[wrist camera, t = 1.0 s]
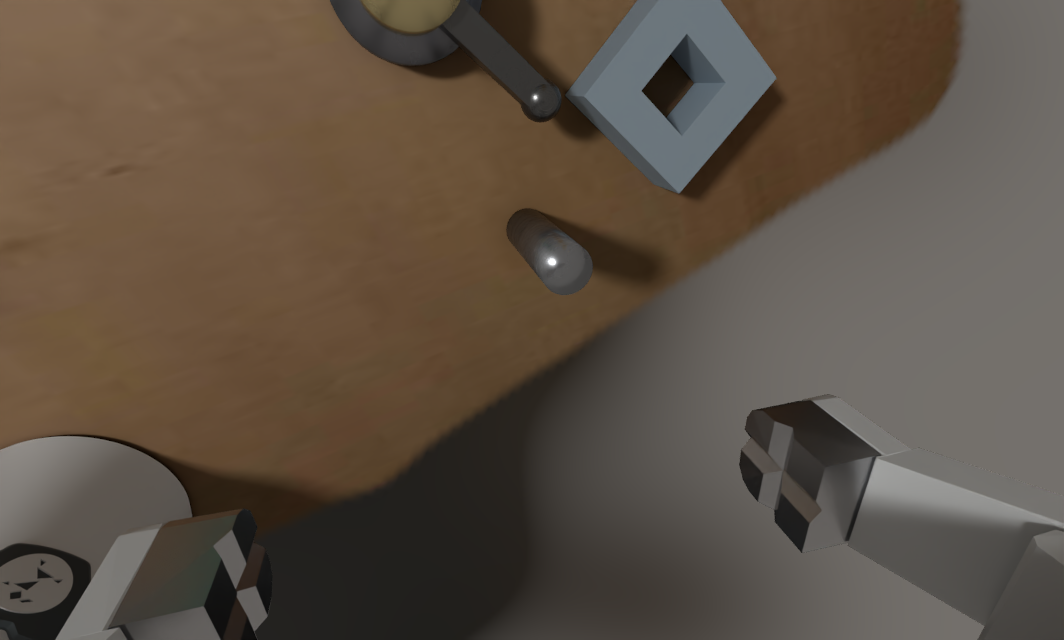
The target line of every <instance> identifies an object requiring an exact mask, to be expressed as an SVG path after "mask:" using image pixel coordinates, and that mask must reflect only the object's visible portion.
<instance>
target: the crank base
mask: <svg viewBox="0 0 1064 640" xmlns="http://www.w3.org/2000/svg"><path fill="white" fill-rule="evenodd" d="M465 1H466V2H467V3H468V4H469V5H470V6H471V7H473V8H474V9H475V10H476V11H477V12H478V13H479V11H480V8H481V2H482V0H465ZM330 2H331V4H332V6H333V8H334V10H335V12H336V14H337V16H338V18H339V19H340V21H341V22H342V24H343V25H344V27H345V28H346V30H347V31H348V32H349V33H350V34H351V36H352V37H353V38H354V39H355V40H356V41H357V42H358V43H359V44H360V45H361V46H362V47H364V48H365V49H366V50H368V51H369V52H370V53H372V54H374V55H375V56H377V57H379V58H381V59H383V60H386V61H388V62H391V63H394V64H398V65H405V66H420V65H426V64H430V63H433V62H436V61H438V60H440V59H442V58H444V57H446V56H448V55H449V54H451V53H452V52H453V51H455V50H456V49H457V48H458V47H459V46H458V45H457V44H456V43H455V42H454V41H452V40H451V39H450V38H449V37H448V36H447V35H446V34H445V33H444V32H443V31H442V30H441V29H440V28H437V29H436V30H434V31H432V32H430V33H428V34H425V35H422V36H402V35H399V34H395V33H393V32H391V31H388V30H387V29H385V28H383V27H382V26H380V25H379V24H378V23H377V22H375V21H374V20H373V19H372V18H371V17H370V16H369V14H368V13H367V12H366V11H365V9H364V8H363V6H362V5H361V3H360V1H359V0H330Z"/></svg>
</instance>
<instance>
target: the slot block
mask: <svg viewBox="0 0 1064 640" xmlns="http://www.w3.org/2000/svg"><path fill="white" fill-rule="evenodd" d="M670 54H671V56H672V57H673V58H674V59H675V60H676V62H677V63H678V64H679V65H680V66H681V68H682V69H683V70H684V71H685V72H686V74H687V75H688V76H689V77H690V78H691V80H692V81H693V82H694V84H693V86H692V87H691V88H690V89H689V90H688V92H687V93H686V94H685V95H684V97H683V98H682V99H681V100H680V101H679V103H678V104H677V105H676V106H675V108H674V109H673V110H672V111H671V113H670V114H669V115H668V116H667V117H666V118H665V117H664V116H663V114H662V113H661V112H660V111H659V110H658V109H657V108H656V107H655V106H654V104H653V103H652V102H651V101H650V100H649V99H648V98H647V97H646V96H645V94H644V93H643V92H642V89H643V88H644V87H645V86H646V84H647V83H648V82H649V81H650V79H651V78H652V77H653V76H654V74H655V73H656V72H657V71H658V69H659V68H660V67H661V65H662V64H663V63H664V62H665V60H666V59H667V58H668V57H669V55H670ZM775 79H776V76H775V75H774V74H773V72H772V71H771V69H770V68H769V67H768V65H767V64H766V63H765V61H764V60H763V58H762V57H761V56H760V54H759V53H758V52H757V50H756V49H755V47H754V46H753V45H752V43H751V42H750V40H749V39H748V38H747V36H746V35H745V34H744V32H743V31H742V29H741V28H740V27H739V25H738V24H737V23H736V21H735V20H734V18H733V17H732V16H731V14H730V13H729V11H728V10H727V9H726V7H725V6H724V5H723V3H722V2H721V0H637V2H636V3H635V4H634V6H633V7H632V8H631V10H630V11H629V12H628V13H627V15H626V16H625V17H624V19H623V20H622V21H621V23H620V24H619V25H618V27H617V28H616V29H615V30H614V32H613V33H612V34H611V36H610V37H609V38H608V40H607V41H606V42H605V43H604V45H603V46H602V47H601V49H600V50H599V51H598V53H597V54H596V55H595V56H594V58H593V59H592V60H591V62H590V63H589V64H588V66H587V67H586V68H585V70H584V71H583V72H582V73H581V75H580V76H579V77H578V79H577V80H576V81H575V83H574V84H573V85H572V86H571V88H570V89H569V90H568V92H567V93H566V94H565V96H566V97H567V98H568V99H569V100H570V101H571V102H572V103H573V104H574V105H575V106H576V107H577V108H578V109H579V110H580V111H581V112H582V113H583V114H584V115H585V116H586V117H587V118H588V119H589V120H590V121H591V122H592V123H593V124H594V125H595V126H596V127H597V128H598V129H599V130H600V131H601V132H602V133H603V134H604V135H605V136H606V137H607V138H608V139H609V140H610V141H611V142H612V143H613V144H614V145H615V146H616V147H617V148H618V149H619V150H620V151H621V152H622V153H623V154H624V155H625V156H626V157H627V158H628V159H629V160H630V161H631V162H632V163H633V164H634V165H635V166H636V167H637V168H638V169H639V170H640V171H641V172H642V173H643V174H644V175H645V176H646V177H647V178H648V179H649V180H650V181H651V182H652V183H653V184H654V185H657V186H660V187H663V188H665V189H668V190H671V191H674V192H676V193H680V192H681V191H682V190H683V188H684V187H685V186H686V185H687V184H688V183H689V181H690V180H691V179H692V178H693V177H694V175H695V174H696V173H697V172H698V171H699V169H700V168H701V167H702V166H703V165H704V164H705V162H706V161H707V160H708V159H709V158H710V156H711V155H712V154H713V153H714V152H715V150H716V149H717V148H718V147H719V146H720V145H721V143H722V142H723V141H724V140H725V139H726V137H727V136H728V135H729V134H730V133H731V132H732V130H733V129H734V128H735V127H736V126H737V124H738V123H739V122H740V121H741V120H742V118H743V117H744V116H745V115H746V114H747V113H748V111H749V110H750V109H751V108H752V107H753V105H754V104H755V103H756V102H757V101H758V100H759V98H760V97H761V96H762V95H763V94H764V92H765V91H766V90H767V89H768V88H769V86H770V85H771V84H772V83H773V82H774V81H775Z"/></svg>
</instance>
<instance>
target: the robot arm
mask: <svg viewBox="0 0 1064 640" xmlns="http://www.w3.org/2000/svg"><path fill="white" fill-rule="evenodd" d="M745 430H746V432H747V433H748V435H749V436H750V437H751V438H750V439H749V441H748V442H747V443H746V444H745V445H744V447H743V448H742V449H741V457H740V463H739V465H740V469H741V473H742V478H743V481H744V483H745V484H746V486H747V488H748V490H749V492H750V493H751V494H752V495H753V496H754V498H755V499H756V500H757V501H758V502H759V503H761V504H763V505H765V506H767V507H769V508H771V509H773V510H774V512H775V513H774V515H775V523H776V524H777V525H778V526H779V527H780V528H781V529H782V531H783V532H784V533H785V534H786V535H787V536H788V538H789V539H790V540H791V541H792V542H793V543H794V544H795V546H796V547H797V548H798V549H799V550H800V551H801V553H805V552H809V551H813V550H818V549H822V548H827V547H831V546H835V545H840V544H844V543H848V546H849V547H851V548H853V549H854V550H856V551H858V552H859V553H861V554H863V555H865V556H866V557H868V558H870V559H872V560H873V561H875V562H876V563H878V564H880V565H882V566H883V567H885V568H887V569H888V570H890V571H892V572H894V573H895V574H897V575H899V576H900V577H902V578H904V579H905V580H907V581H909V582H911V583H912V584H914V585H916V586H917V587H919V588H921V589H922V590H924V591H926V592H927V593H929V594H931V595H933V596H934V597H936V598H938V599H939V600H941V601H943V602H945V603H946V604H948V605H950V606H951V607H953V608H955V609H956V610H958V611H960V612H962V613H963V614H965V615H967V616H969V617H970V618H972V619H974V620H976V621H977V622H979V623H981V624H982V625H984V626H985V627H984V629H983V630H982V632H981V634H980V636H979V638H978V639H977V640H1064V495H1061V494H1058V493H1055V492H1052V491H1049V490H1046V489H1043V488H1040V487H1037V486H1033V485H1031V484H1028V483H1024V482H1022V481H1019V480H1015V479H1013V478H1010V477H1007V476H1003V475H1000V474H997V473H994V472H991V471H988V470H985V469H982V468H979V467H976V466H973V465H970V464H967V463H964V462H961V461H958V460H955V459H952V458H949V457H945V456H943V455H940V454H937V453H934V452H930V451H928V450H925V449H922V448H915V449H910V448H909V447H907V446H906V445H905V444H903V443H902V442H900V441H899V440H898V439H896V438H895V437H893V436H892V435H891V434H889V433H888V432H886V431H885V430H884V429H882V428H881V427H879V426H878V425H877V424H875V423H874V422H872V421H871V420H870V419H868V418H867V417H865V416H864V415H863V414H861V413H860V412H858V411H857V410H856V409H854V408H853V407H852V406H850V405H849V404H847V403H846V402H844V401H843V400H842V399H840V398H839V397H836V396H833V395H829V394H827V395H822V396H818V397H813V398H808V399H804V400H802V401H796V402H791V403H786V404H781V405H776V406H771V407H766V408H761V409H756V410H752V411H751V413H750V414H749V416H748V417H747V421H746V426H745ZM256 530H257V525H256V523H255V520H254V518H253V516H252V513H251V511H250V510H247V509H244V508H243V509H237V510H231V511H226V512H220V513H214V514H208V515H202V516H196V517H192V512H191V507H190V502H189V499H188V496H187V493H186V491H185V490H184V488H183V486H182V485H181V483H180V482H179V480H178V479H177V478H176V477H175V476H174V475H173V474H172V473H171V472H170V471H169V470H168V469H167V468H166V467H165V466H163V465H162V464H161V463H159V462H158V461H156V460H155V459H153V458H152V457H150V456H148V455H146V454H144V453H142V452H140V451H138V450H136V449H133V448H131V447H128V446H125V445H122V444H119V443H115V442H112V441H107V440H103V439H97V438H90V437H79V436H57V437H46V438H39V439H34V440H29V441H25V442H21V443H18V444H15V445H12V446H9V447H7V448H4V449H1V450H0V640H257V637H256V635H255V633H254V631H255V630H256V629H257V628H258V626H259V625H260V624H261V623H262V622H263V621H264V620H265V619H266V617H267V616H268V612H269V607H270V603H271V598H272V570H271V564H270V559H269V557H268V554H267V551H266V549H265V548H263V547H262V546H260V545H258V544H256V543H255V542H253V540H254V537H255V534H256Z"/></svg>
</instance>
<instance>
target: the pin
mask: <svg viewBox="0 0 1064 640" xmlns="http://www.w3.org/2000/svg"><path fill="white" fill-rule="evenodd" d="M506 230H507V236H508V239H509V241H510V242H511V243H512V245H513V246H514V247H515V248H516V249H517V251H518V252H519V253H520V254H521V256H522V257H523V258H524V259H525V261H526V262H527V263H528V264H529V265H530V267H531V268H532V269H533V270H534V272H535V273H536V274H537V275H538V277H539V278H540V279H541V280H542V282H543V283H544V284H545V285H546V286H547V288H548V289H549V290H551V291H552V292H554V293H556V294H560V295H569V294H573V293H575V292H577V291H579V290H581V289H582V288H583V287H584V286H585V285H586V284H587V282H588V281H589V279H590V277H591V274H592V269H593V264H592V259H591V257H590V255H589V253H588V252H587V251H586V250H585V249H584V248H583V247H582V246H580V245H579V244H578V243H577V242H575V241H574V240H573V239H572V238H570V237H569V236H568V235H567V234H566V233H564V232H563V231H562V230H561V229H559V228H558V227H557V226H556V225H554V224H553V223H552V222H551V221H549V220H548V219H547V218H546V217H545V216H543V215H542V214H541V213H540V212H538V211H536V210H534V209H530V208H526V209H521V210H519V211H517V212H515V213H514V214H513V215H512V216H511V218H510V219H509V221H508V224H507V229H506Z"/></svg>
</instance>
